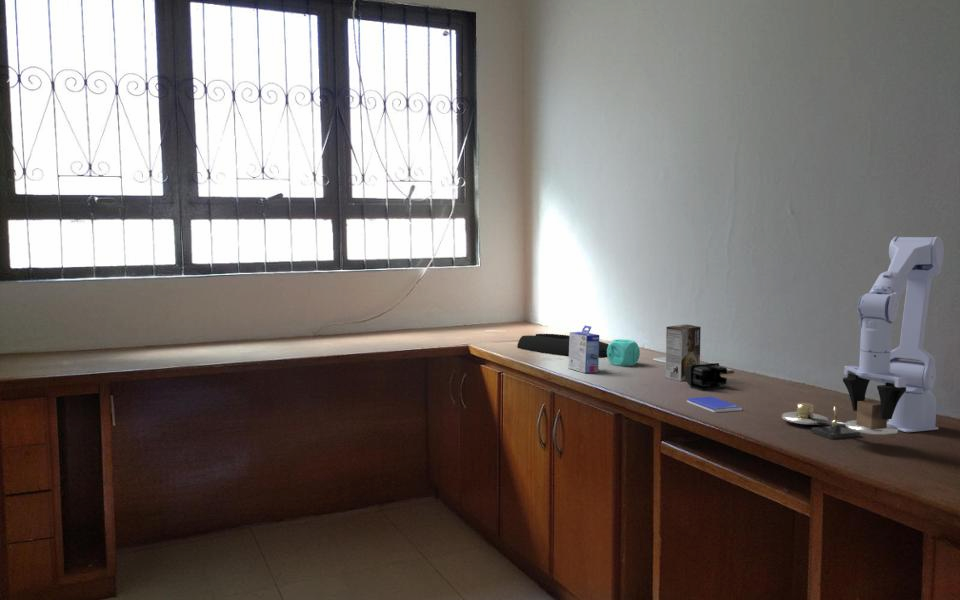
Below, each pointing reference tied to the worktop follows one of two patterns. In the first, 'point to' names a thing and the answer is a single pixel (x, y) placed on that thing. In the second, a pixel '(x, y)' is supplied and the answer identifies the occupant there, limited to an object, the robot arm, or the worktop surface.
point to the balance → (832, 424)
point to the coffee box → (681, 350)
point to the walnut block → (870, 414)
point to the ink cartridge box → (584, 351)
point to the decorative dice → (623, 352)
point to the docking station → (552, 344)
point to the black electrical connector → (706, 376)
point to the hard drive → (714, 404)
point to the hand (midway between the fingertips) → (871, 414)
